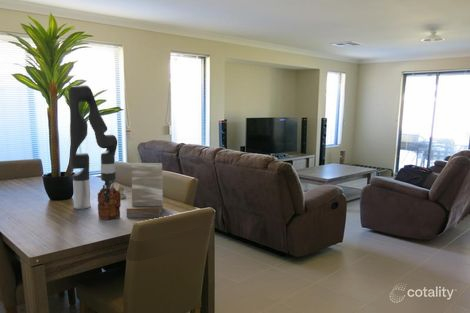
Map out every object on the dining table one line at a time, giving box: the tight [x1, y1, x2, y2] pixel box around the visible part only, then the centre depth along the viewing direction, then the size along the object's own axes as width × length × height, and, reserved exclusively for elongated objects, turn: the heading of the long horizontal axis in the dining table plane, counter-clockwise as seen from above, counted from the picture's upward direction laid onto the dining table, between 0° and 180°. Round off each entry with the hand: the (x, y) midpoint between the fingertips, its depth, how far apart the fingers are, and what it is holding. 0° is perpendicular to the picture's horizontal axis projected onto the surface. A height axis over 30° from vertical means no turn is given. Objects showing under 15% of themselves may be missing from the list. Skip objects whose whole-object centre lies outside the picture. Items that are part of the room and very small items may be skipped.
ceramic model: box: [114, 181, 127, 199], centre depth 248 cm, size 14×11×10 cm
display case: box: [126, 162, 164, 218], centre depth 210 cm, size 18×18×28 cm
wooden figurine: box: [97, 187, 122, 221], centre depth 199 cm, size 12×6×18 cm, turn 113°
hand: (109, 200), depth 199 cm, fingers closed on wooden figurine, 7 cm apart
